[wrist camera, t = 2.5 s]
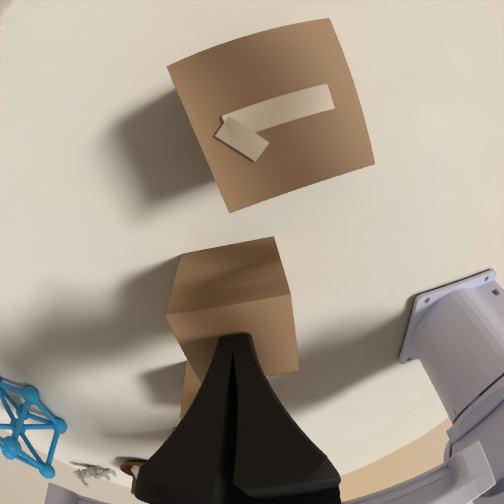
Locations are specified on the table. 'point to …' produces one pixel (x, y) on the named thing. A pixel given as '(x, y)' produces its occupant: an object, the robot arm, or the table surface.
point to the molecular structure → (18, 428)
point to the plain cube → (234, 304)
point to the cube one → (274, 111)
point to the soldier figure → (93, 473)
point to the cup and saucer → (127, 469)
